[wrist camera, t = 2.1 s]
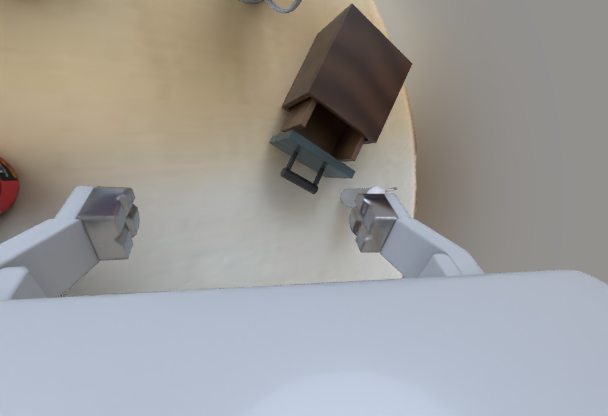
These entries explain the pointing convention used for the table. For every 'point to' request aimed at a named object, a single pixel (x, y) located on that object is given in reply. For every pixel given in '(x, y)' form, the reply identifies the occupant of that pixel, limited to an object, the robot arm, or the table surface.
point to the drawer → (317, 143)
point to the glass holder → (269, 0)
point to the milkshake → (350, 194)
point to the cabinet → (352, 73)
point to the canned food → (7, 185)
